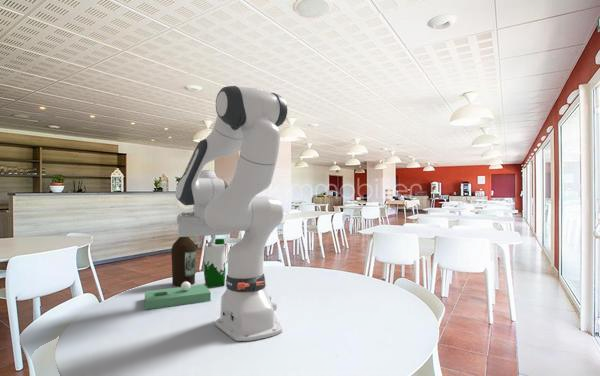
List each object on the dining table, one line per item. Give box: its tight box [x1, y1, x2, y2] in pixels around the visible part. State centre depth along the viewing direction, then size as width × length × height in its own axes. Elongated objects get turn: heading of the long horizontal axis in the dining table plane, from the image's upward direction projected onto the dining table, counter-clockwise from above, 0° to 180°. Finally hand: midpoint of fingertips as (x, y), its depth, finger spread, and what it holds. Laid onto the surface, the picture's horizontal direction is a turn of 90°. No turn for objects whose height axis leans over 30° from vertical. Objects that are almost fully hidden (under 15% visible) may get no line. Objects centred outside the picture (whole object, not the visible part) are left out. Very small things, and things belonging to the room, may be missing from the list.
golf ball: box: [180, 282, 192, 291], centre depth 123 cm, size 4×4×4 cm
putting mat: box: [144, 283, 212, 311], centre depth 121 cm, size 22×13×3 cm, turn 117°
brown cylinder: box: [170, 236, 197, 287], centre depth 145 cm, size 11×11×25 cm
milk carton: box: [203, 238, 227, 288], centre depth 143 cm, size 9×9×20 cm
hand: (204, 247), depth 126 cm, fingers open, 3 cm apart
